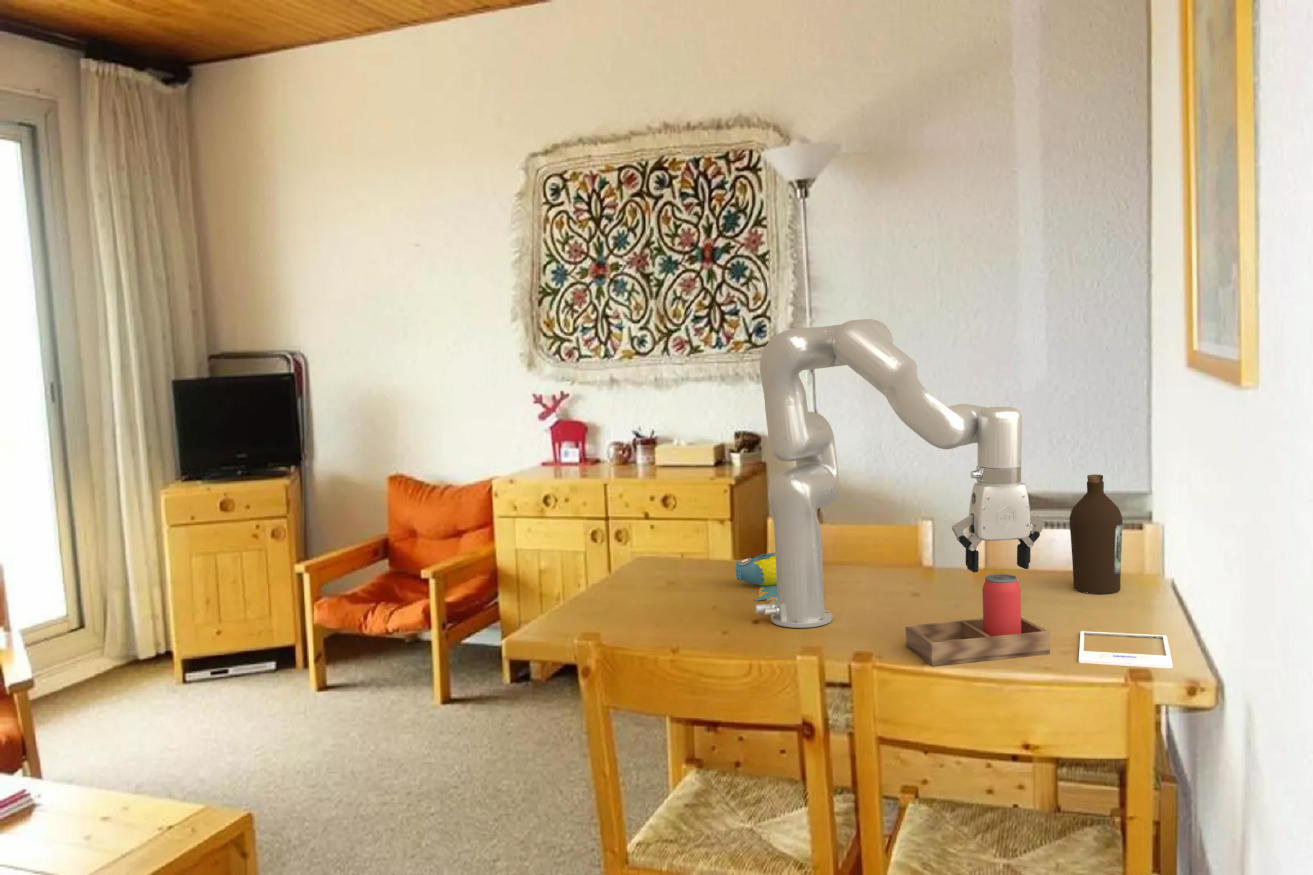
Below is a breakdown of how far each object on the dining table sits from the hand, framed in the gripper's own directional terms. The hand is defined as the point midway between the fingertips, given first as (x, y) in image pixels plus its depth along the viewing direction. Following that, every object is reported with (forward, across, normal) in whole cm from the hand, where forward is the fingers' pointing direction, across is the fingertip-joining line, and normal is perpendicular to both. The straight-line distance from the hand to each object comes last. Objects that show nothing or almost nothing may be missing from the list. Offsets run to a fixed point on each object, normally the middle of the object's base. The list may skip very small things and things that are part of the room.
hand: (997, 569), depth 194 cm
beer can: (+14, +1, -1) cm, 14 cm away
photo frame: (+14, +20, -9) cm, 26 cm away
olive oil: (+15, +39, +31) cm, 52 cm away
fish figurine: (+18, -27, +60) cm, 68 cm away
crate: (+15, -4, -1) cm, 15 cm away
